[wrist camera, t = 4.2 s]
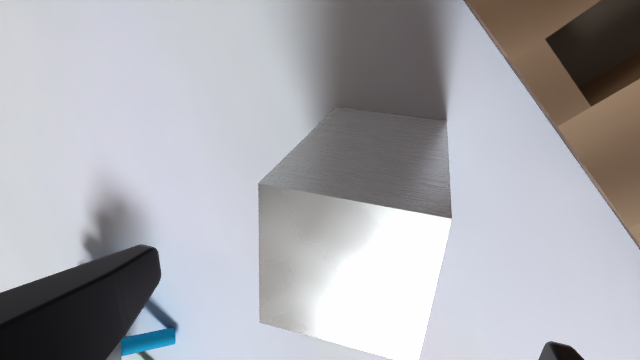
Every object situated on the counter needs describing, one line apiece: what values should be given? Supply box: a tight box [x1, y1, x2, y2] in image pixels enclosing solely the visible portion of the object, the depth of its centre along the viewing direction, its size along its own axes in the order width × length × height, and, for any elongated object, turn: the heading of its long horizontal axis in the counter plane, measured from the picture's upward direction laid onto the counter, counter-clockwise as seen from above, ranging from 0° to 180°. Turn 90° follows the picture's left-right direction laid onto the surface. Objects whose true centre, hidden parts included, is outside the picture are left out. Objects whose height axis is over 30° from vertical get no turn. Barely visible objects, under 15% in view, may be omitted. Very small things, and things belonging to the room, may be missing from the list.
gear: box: [106, 328, 175, 360], centre depth 24 cm, size 11×6×10 cm
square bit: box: [258, 107, 452, 360], centre depth 13 cm, size 4×4×8 cm
